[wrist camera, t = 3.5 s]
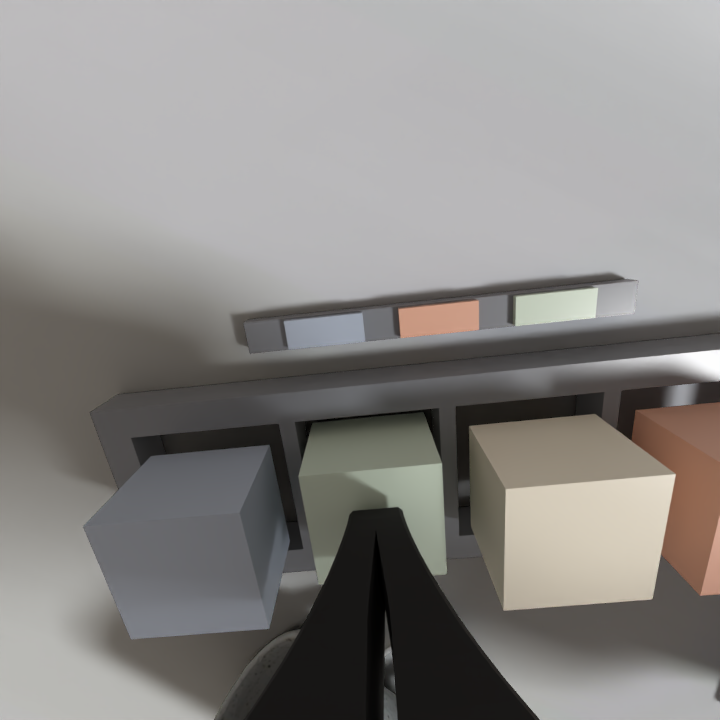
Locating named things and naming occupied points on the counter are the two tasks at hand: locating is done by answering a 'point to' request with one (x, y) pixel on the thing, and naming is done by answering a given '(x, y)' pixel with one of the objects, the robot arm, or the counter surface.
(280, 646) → the ceramic mug
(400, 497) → the sage key
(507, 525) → the sand key
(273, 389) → the keypad base
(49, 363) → the counter surface
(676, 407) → the terracotta key
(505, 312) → the strip
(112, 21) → the counter surface
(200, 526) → the slate key
